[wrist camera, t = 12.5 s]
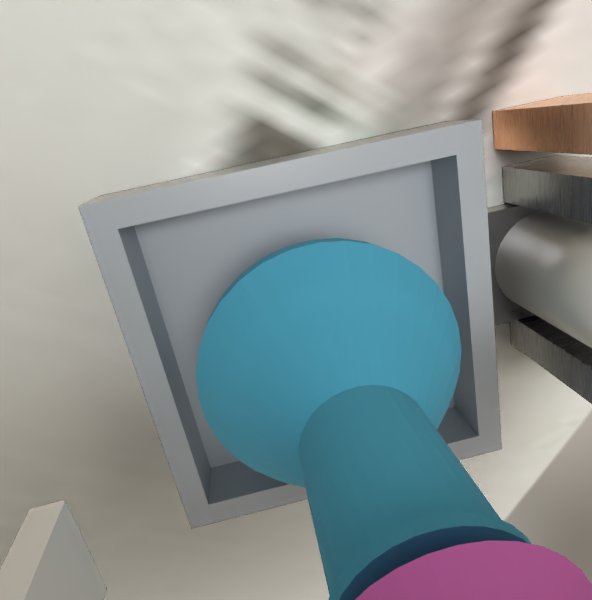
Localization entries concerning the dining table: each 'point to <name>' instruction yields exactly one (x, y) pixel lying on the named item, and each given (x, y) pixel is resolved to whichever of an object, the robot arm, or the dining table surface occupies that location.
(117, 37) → the dining table surface
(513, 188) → the clip rack
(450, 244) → the tray
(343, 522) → the perfume bottle
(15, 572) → the robot arm
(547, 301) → the canister
